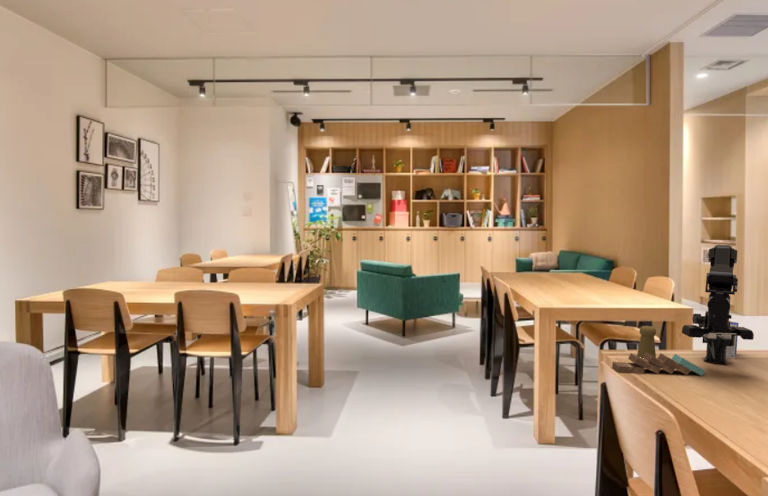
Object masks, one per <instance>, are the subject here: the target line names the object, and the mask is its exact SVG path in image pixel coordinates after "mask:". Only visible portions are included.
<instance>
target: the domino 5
mask: <svg viewBox="0 0 768 496" xmlns="http://www.w3.org/2000/svg"><path fill="white" fill-rule="evenodd" d="M671 359H673V360H674V361H676V362H678V363H679V364H681V365H683V366H685V367H686V368H688V369H690V371H692V372H693V373H695V374H697V375H699V376H700V377H703V375H704V373H705V372H706V370H705V369H703V368H701V367H699V365H696V364H694V363H693V362H691V361H689V360H688V359H686V358H684V357H682V356H680V355H678V354H676V353H674V354H673V356H672V358H671Z"/></svg>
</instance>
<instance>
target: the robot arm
mask: <svg viewBox="0 0 768 496" xmlns="http://www.w3.org/2000/svg"><path fill="white" fill-rule="evenodd" d="M707 260H708V263H710V264H709V266H710V268H709V272H707V273H706V280H705V289H704V290H705V291H704V292H705V293H708V300H707V301H708V302H707V310H706V311H705V313H704V315H702V314H701V313H692V319H691V320H692V324H684V325H683V326H682V328H681V334H683V335H685V336H686V337H689V338H702V344H706V351H705V356H704V358H703V362H706V363H707V362H708V363H713V364H718V365H727V363H728V358H727V357H726V347H727V346H730V347H731V346H734V336H739V337H740V338H741V339H742V340H748V341H749V340H751V341H753V340H754V337H755V334H754V331H753V330H752V329H749V328H746V327H745V326H738V327H732V328H731V329H730V321H731V320H732V315H731V314H730V312H731V311H730V310H731V295H732V296H733V295H734V296H735V295H736V294H735V293H737V292H738V282H739V279H738V278H737V275H736V274H734V268H735V264H737V262H738V249H735V248H733V246H732V245H725V244H724V245H723V244H717V245H714V247H712V248H709V249H708V258H707ZM730 319H731V320H730Z"/></svg>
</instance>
